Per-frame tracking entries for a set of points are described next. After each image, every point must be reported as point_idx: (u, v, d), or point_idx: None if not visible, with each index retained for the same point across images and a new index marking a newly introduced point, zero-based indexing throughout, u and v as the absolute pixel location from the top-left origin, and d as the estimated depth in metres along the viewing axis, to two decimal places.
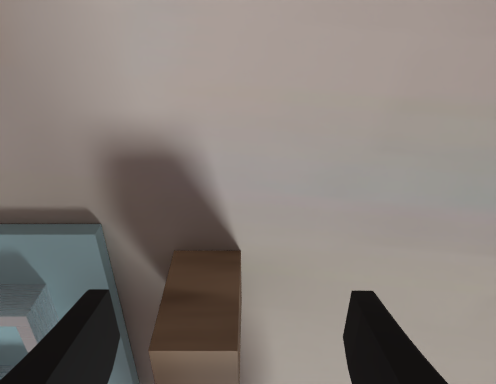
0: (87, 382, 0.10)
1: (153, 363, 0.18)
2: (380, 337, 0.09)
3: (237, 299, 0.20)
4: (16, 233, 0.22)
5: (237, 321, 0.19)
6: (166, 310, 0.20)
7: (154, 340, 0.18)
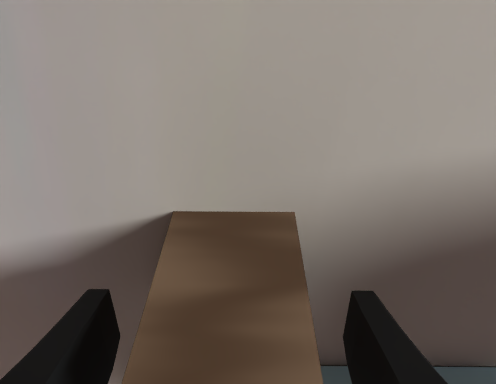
0: (87, 382, 0.10)
1: None
2: (380, 337, 0.09)
3: (147, 302, 0.10)
4: None
5: (134, 350, 0.09)
6: None
7: None
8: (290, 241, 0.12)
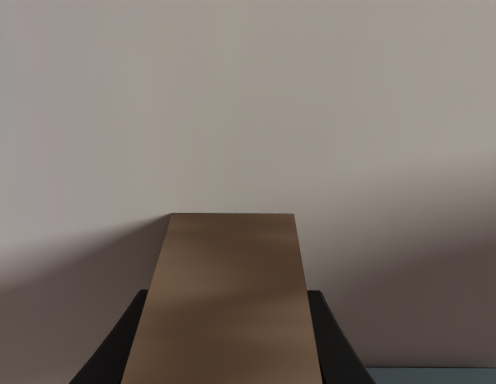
0: None
1: None
2: (316, 337, 0.09)
3: (145, 306, 0.10)
4: None
5: (132, 354, 0.08)
6: None
7: None
8: (289, 243, 0.12)
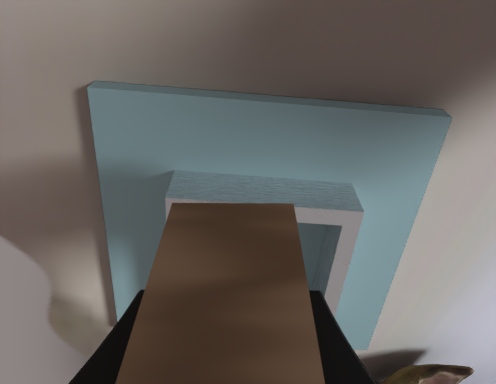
0: None
1: None
2: None
3: (145, 291, 0.10)
4: None
5: (132, 338, 0.08)
6: None
7: None
8: (289, 232, 0.12)
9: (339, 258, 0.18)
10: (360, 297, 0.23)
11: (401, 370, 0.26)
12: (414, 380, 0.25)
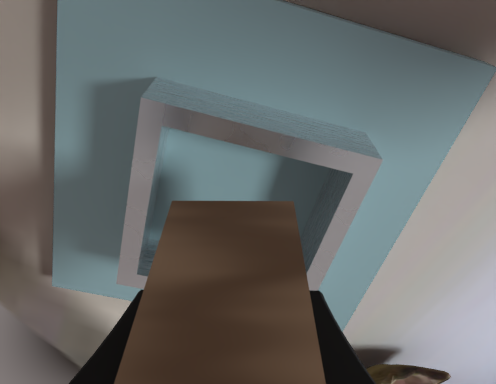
0: None
1: None
2: None
3: (145, 288, 0.10)
4: (59, 69, 0.15)
5: (132, 334, 0.08)
6: None
7: None
8: (289, 229, 0.12)
9: (340, 216, 0.15)
10: (344, 276, 0.20)
11: (371, 368, 0.24)
12: (386, 380, 0.22)
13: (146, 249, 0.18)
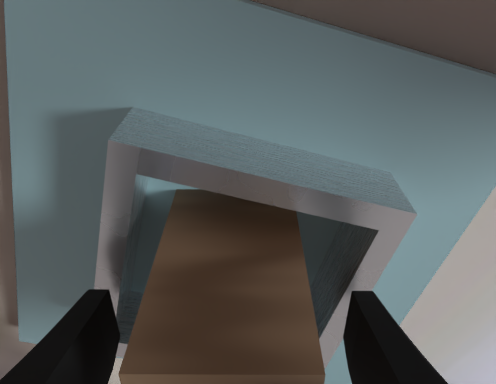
0: (87, 382, 0.10)
1: None
2: (380, 337, 0.09)
3: (153, 268, 0.10)
4: (12, 97, 0.12)
5: (141, 308, 0.09)
6: None
7: None
8: (288, 215, 0.12)
9: (360, 279, 0.12)
10: None
11: None
12: None
13: (126, 306, 0.15)
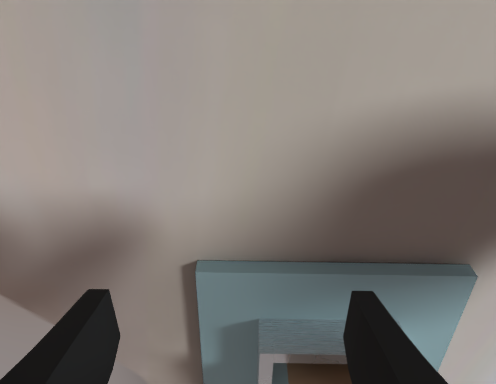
0: (87, 382, 0.10)
1: None
2: (380, 337, 0.09)
3: None
4: None
5: None
6: None
7: None
8: None
9: None
10: None
11: None
12: None
13: None
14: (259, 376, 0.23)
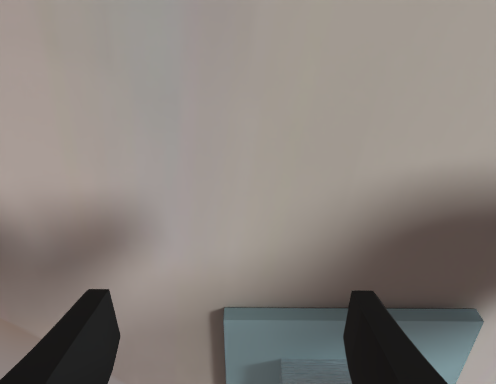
0: (87, 382, 0.10)
1: None
2: (380, 337, 0.09)
3: None
4: None
5: None
6: None
7: None
8: None
9: None
10: None
11: None
12: None
13: None
14: None
